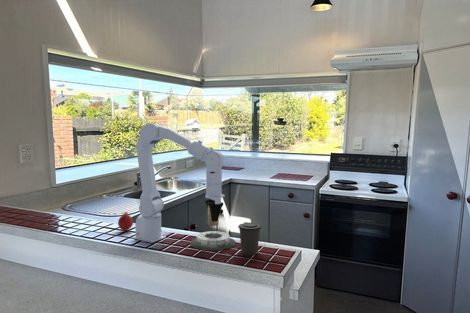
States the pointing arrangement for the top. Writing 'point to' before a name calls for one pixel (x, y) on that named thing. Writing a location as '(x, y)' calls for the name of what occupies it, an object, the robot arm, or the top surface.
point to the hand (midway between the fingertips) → (213, 219)
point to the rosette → (213, 241)
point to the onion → (125, 222)
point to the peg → (211, 220)
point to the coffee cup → (249, 237)
